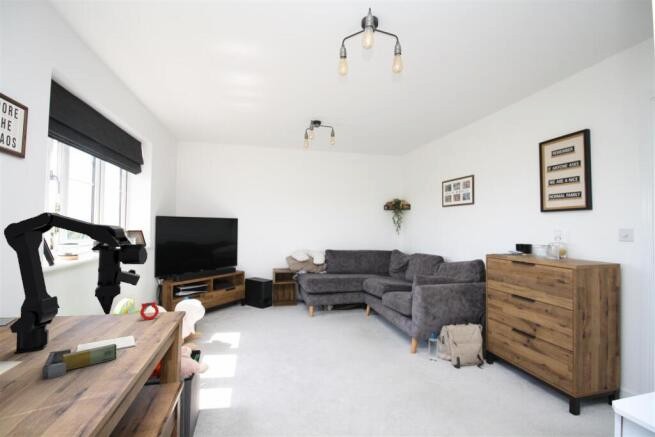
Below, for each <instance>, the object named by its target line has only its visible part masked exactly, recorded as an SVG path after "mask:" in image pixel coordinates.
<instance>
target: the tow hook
mask: <svg viewBox="0 0 655 437" xmlns="http://www.w3.org/2000/svg"><path fill="white" fill-rule="evenodd" d="M156 304H157V302H156V301H152V302H151V301H149V302H143V303H141V306H140V307H141V309H140V312H139V314H140V316H141V318H142V319H144V320H147V321H149V320H154V319H155V318H157V316H158V314H159V312H160V311H159V310H160V309H159V307H158V305H156ZM149 307H151V308H152V309H154V311H155V312H154V314H153V315H151V316H147V315H146V314H145V312H146V311H147V309H148V308H149Z"/></svg>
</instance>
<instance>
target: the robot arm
mask: <svg viewBox="0 0 655 437" xmlns="http://www.w3.org/2000/svg"><path fill="white" fill-rule="evenodd" d="M54 227H55V228H58V229H62V230H66V231H70V232H74V233H78V234H82V235H85V236H87V237H89V238H90V239H91V240H93V241H95V242H97V244H96V245H94V246H93V247H92V248H91V251H98V267H97V268H98V269H97V272H98V273H97V282H96V285H97V286H96V288H95V290H94V297H95V298H97V300H98V302H99V304H100V307H101V308H102V310H103V313H104V315H110V314H111V310H112V306H113V303H114V300H115V298H116V297H117V296H118V295H121V292H122V291H121V288H122V287H121V284H122V283H125V284H128V285H131V286H137V284H138V282H140V278H141V276H140V274H138V273H137V272H136V270H135V269H129V270H128V271H126V270H125V271H124V270H122V267H121V263H122V264H123V265H145V263H146V262H147V260H148V252H147V248H146V246H145V243H135V244H134V243H132V242H131V241H130V240H129V239H128V238H129V237H127V236H126V234H125V230H124V228H122V227H121V226H118V225H111V224H99V223H98V224H97V223H93V222H89V221H86V220H82V219H77V218H74V217H70V216H66V215H63V214H60V213H58V212H42V213H40V214H38V215H36V216H32V217H30V218H29V217H28V218H26V219H23V220H20V221H18V222H12V223H10V224H8V225H7V226H6V227H5V228H4V229H3V236H4V238H5V241H6V243H7V245H8V246H9V247H10V248H11V249H12V250H13V251H15V254H16V258H17V262H18V268H19V273H20V277H21V278H20V279H21V283H22V287H23V288H22V289H23V293H24V300H23V302H22V304H21V306H20V317H19V318H18V319H16V320H15V321H14V322H13V323H12V324H11V325H9V330H10V332H11V334H16V342H15V344H16V345H15V346H16V347H15V350H14V352H13V353H14V354H20V353H27V352H32V351H38V350H43V349H45V348H46V346H47V345H48V344H49V341H50V340H49V339H50V329H49V328H48V325H50V324H52V323H53V320H54V318H55V317H57V315H58V313H59V309H60V308H61V307H60V305H59V303H58V302H59V301H58V297H57V295H54V296H51V295H50V294H49V293H48V292H47V287H46V281H45V276H44V272H43V271H44V270H43V267H42V265H43V264H42V261H41V256H40V250H39V248H40V247H41V244H42V243H43V234H45V233H48V232H49V231H51V230H52V229H53V228H54Z"/></svg>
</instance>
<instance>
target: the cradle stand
mask: <svg viewBox="0 0 655 437" xmlns="http://www.w3.org/2000/svg"><path fill="white" fill-rule="evenodd" d="M69 353H72V348H66V349H61V350H60V349H59V350H55V351H50V352H49V354H48V356H47V359H46V361H45V362H44V365H43V367H42V379H41V380H43V381H44V380H47V379H53V378H58V377H63V376H66V375H67V371H66V364H67V362H63V363H62V355H64V354H69Z"/></svg>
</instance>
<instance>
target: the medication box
mask: <svg viewBox="0 0 655 437" xmlns="http://www.w3.org/2000/svg"><path fill="white" fill-rule="evenodd" d="M116 348H117V345H116V344H111V345H106V346H102V347H97V348H92V349H87V350H83V351H78V352H76V351H75V352H74V351H73V352H71V353H69V354H64V355H62V362H61V363H63V362H67V364H66V372H67V371H71V370H76V369H78V368H83V367H87V366H91V365H96V364H100V363H104V362H108V361H113V360H117V350H116Z"/></svg>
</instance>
